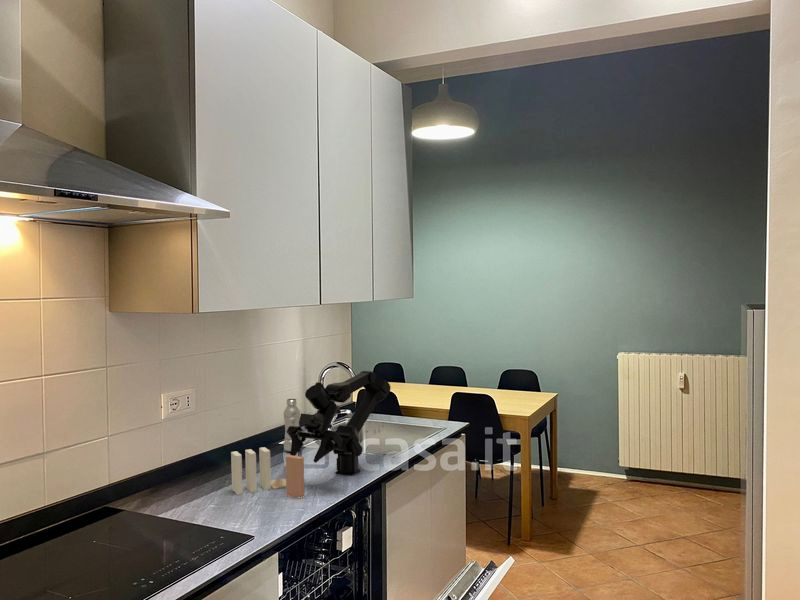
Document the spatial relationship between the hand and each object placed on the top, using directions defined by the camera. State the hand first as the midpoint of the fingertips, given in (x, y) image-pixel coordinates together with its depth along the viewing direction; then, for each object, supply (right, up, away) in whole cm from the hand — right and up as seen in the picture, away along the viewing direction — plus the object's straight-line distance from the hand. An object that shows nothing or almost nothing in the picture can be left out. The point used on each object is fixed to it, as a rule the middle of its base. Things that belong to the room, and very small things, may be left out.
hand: (302, 459), depth 195 cm
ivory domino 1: (-21, -10, +2) cm, 23 cm away
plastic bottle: (-11, -9, +49) cm, 51 cm away
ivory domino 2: (-17, -10, +4) cm, 20 cm away
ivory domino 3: (-13, -10, +6) cm, 18 cm away
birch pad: (-9, -10, +8) cm, 16 cm away
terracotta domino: (-2, -10, -3) cm, 11 cm away
